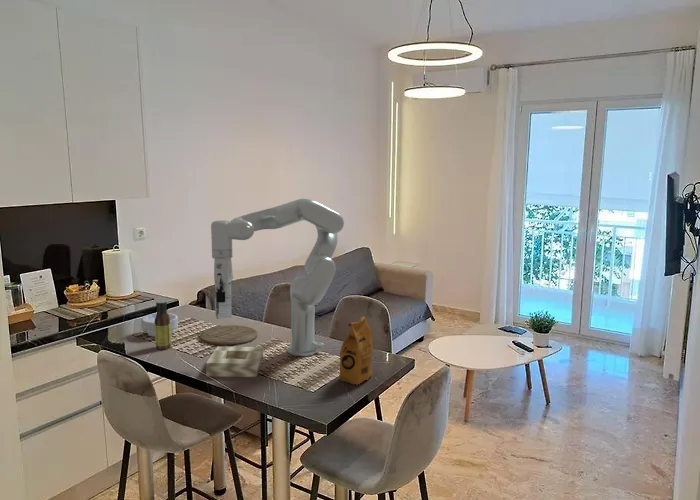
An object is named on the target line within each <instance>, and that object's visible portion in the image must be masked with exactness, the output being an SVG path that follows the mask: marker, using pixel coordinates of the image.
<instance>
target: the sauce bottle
mask: <svg viewBox="0 0 700 500" xmlns="http://www.w3.org/2000/svg"><path fill="white" fill-rule="evenodd" d="M155 305H156V313H155V314H156V318H155V321H154V323H155V337H154V338H155V347H156V348H157V349H158V350H167V349H170V348H171V347H172V334H171V324H170V317H169V314H168V312H167V305H168V303H167V301H166V300H158V301H156V302H155Z"/></svg>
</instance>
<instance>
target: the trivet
mask: <svg viewBox="0 0 700 500" xmlns="http://www.w3.org/2000/svg"><path fill="white" fill-rule="evenodd" d="M257 337H258V331H257V330H256V329H254V328H252V327H250V326H245V325H219V326H213V327H210V328H207V329H205V330H202V332H200V334H199V339H201V340H200V341H201V342H202V341H203V342H202V343H204V344H206V343H207V345H211V346H217V347H234V346H240V345H244V344H248V343H251V342H252V341H254V340H256V339H257Z"/></svg>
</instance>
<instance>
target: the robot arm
mask: <svg viewBox="0 0 700 500" xmlns="http://www.w3.org/2000/svg"><path fill="white" fill-rule="evenodd" d="M302 221H305V222H308V223H310V224H313V226H315V229H316V231H317V239H316V241H315V243H314V245H313V247H312V249H311V251H310V253H309V255H308V257H307V258H306V260H305V264H304V270H305V272H306V273H307V274H309V276H308V277H307V276H303V275H301V276H297V277H295V278H294V279H292V282H291V283H290V286H289V294H290V295H289V296H290V301H291V302H290V303H291V315H290V316H291V317H290V318H291V323H290V328H291V329H290V334H291V335H290V339H291V341H290V345H289V346H288V347H287V353H288V354H289V355H291V356H296V357H310V356H313V355H315V354H317V353H318V352H319V351H318V349H326V347H325V346H326V344H325V343H323V342H317V341H316V339H315V314H316V313H315V309H316V307H315V305H317V304H318V303H320V302H321V301H322V300H323V298H324V297H325V294H326V293H327V291H328V289H329V287H330V285H331V284H332V281H333V279H334V278H335V274H336V270H337V269H336V268H337V267H336V266H337V265H336V262H335V261H334V260H333V259H332V257H333V255H334V253H335V251H336V249H337V246H338V245H337V244H338V233H340V232H341V231H342V230H343V228H344V225H345V220H344V217H342V215H341V214H340V213H338V212H337V211H335V210H333V209H331V208H330V207H327V206H325V205H324V204H322V203H319V202H318V201H316V200H314V199H309V198H299V199H295V200H293V201H289V202H287V203H283V204H280V205H277V206H273V207H269V208H265V209H262V210H258V211H255V212H250V213H247V214H245V215H244V214H243V215H241V216H238V217H235V218H233V219H232V220H214V221H212V222H211V225H210V230H211V231H210V233H211V237H210V238H211V239H210V240H211V258H212V259H214V260H213V261H214V263H213V272H214V273H213V278H214V281H213V282H214V285H215V284H216V301H217V302H225V292H224V288H225V284H226V285H228V284H229V281H231V282H232V281H233V279H234V278H233V277H234V276H233V274H234V273H233V263H232V262H233V261H232V258H233V240H236V241H237V240H238V241H247V240H249V239H251V238H252V237H253V236H254V234H255V232H258V231H261V230H262V231H263V230H277V229H281V228H285V227H287V226H290V225H293V224H296V223H300V222H302ZM220 282H222V283H220Z"/></svg>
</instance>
